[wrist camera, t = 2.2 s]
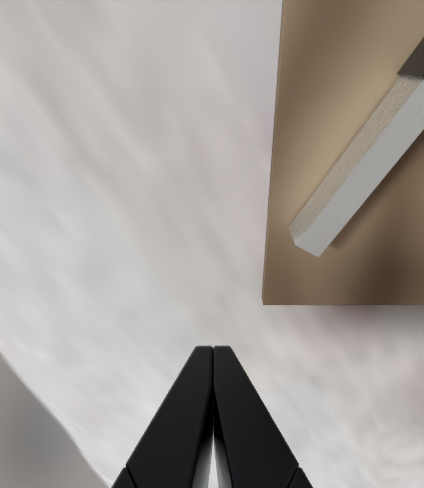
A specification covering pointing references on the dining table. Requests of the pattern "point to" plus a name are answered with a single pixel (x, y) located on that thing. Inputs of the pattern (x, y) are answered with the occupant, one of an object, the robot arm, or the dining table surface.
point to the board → (334, 145)
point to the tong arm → (365, 159)
